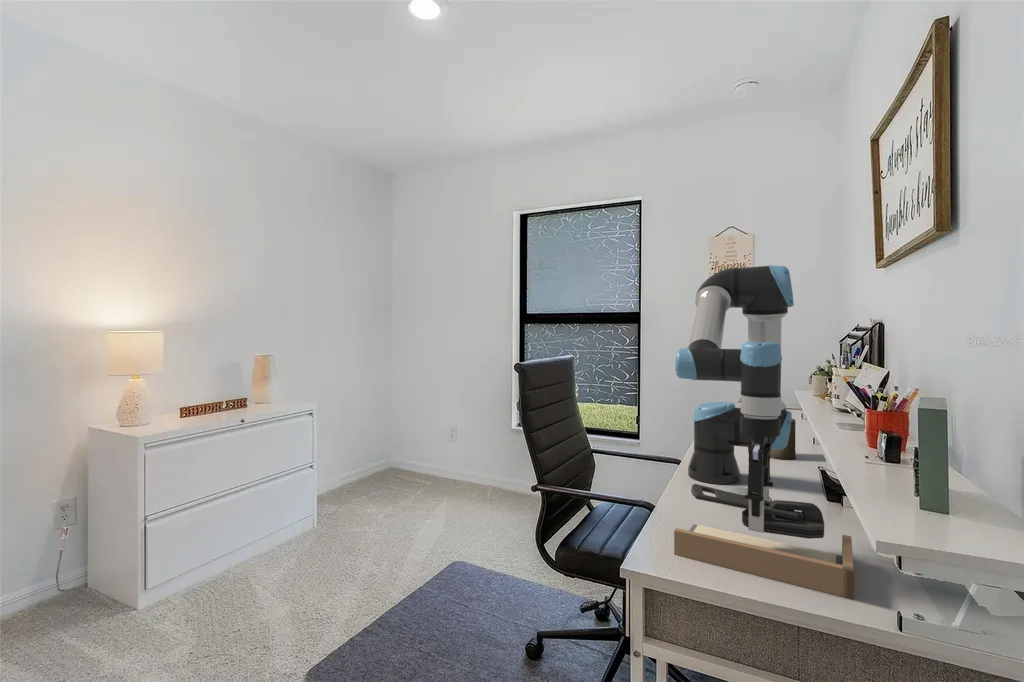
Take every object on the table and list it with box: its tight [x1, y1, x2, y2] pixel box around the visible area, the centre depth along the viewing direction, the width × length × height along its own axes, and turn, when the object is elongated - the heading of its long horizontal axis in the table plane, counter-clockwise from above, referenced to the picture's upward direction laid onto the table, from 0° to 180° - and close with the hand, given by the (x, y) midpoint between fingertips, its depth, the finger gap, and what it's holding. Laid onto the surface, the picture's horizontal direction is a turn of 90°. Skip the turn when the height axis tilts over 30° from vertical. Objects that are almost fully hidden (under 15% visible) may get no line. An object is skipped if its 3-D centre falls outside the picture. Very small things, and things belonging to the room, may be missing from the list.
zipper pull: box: [690, 483, 825, 540], centre depth 102 cm, size 9×7×25 cm
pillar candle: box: [770, 418, 797, 461], centre depth 175 cm, size 10×10×15 cm
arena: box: [673, 524, 855, 600], centre depth 99 cm, size 16×30×5 cm, turn 56°
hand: (759, 523), depth 102 cm, fingers closed on zipper pull, 8 cm apart
